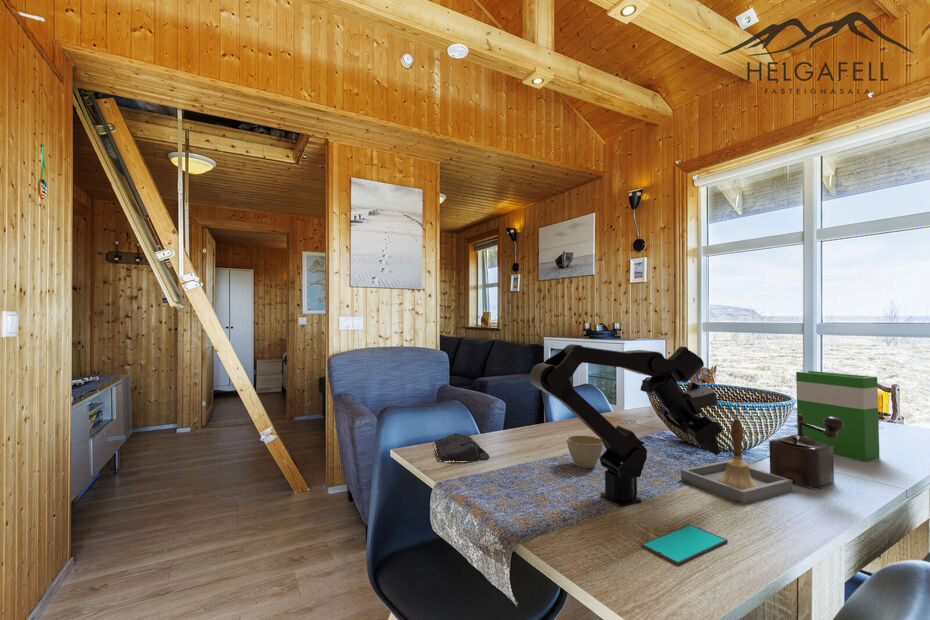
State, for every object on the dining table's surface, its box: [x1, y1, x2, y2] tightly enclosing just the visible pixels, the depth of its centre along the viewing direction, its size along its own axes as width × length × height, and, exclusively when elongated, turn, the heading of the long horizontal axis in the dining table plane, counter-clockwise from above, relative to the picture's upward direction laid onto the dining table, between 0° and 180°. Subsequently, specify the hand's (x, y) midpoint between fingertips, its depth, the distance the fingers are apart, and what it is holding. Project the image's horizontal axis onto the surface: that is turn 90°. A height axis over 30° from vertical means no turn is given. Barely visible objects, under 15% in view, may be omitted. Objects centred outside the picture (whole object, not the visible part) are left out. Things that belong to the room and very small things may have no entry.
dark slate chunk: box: [433, 433, 490, 462], centre depth 135 cm, size 15×22×5 cm
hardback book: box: [795, 370, 881, 463], centre depth 134 cm, size 18×7×24 cm, turn 23°
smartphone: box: [641, 524, 728, 567], centre depth 78 cm, size 7×1×15 cm
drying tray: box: [680, 460, 794, 505], centre depth 107 cm, size 18×16×2 cm
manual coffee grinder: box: [768, 414, 844, 490], centre depth 108 cm, size 16×11×18 cm
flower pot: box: [566, 434, 604, 469], centre depth 122 cm, size 10×10×7 cm
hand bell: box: [718, 418, 757, 490], centre depth 105 cm, size 8×8×16 cm
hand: (706, 445), depth 103 cm, fingers open, 9 cm apart
